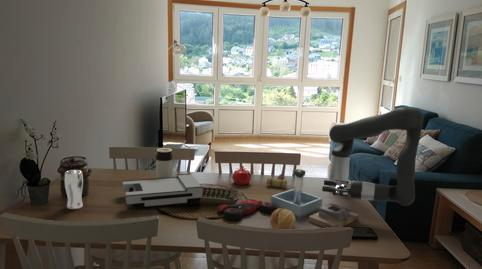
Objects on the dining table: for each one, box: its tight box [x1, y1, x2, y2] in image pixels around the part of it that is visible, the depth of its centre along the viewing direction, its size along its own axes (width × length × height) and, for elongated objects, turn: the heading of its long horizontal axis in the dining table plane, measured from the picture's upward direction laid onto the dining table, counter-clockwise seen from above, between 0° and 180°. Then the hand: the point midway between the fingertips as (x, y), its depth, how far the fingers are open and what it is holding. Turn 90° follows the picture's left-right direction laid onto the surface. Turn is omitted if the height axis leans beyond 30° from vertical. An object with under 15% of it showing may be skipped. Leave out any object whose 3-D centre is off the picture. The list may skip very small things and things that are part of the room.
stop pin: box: [293, 168, 306, 206], centre depth 171 cm, size 5×5×16 cm
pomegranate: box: [231, 165, 252, 186], centre depth 201 cm, size 10×10×9 cm
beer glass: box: [64, 169, 84, 210], centre depth 161 cm, size 7×7×15 cm
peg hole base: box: [308, 202, 359, 229], centre depth 161 cm, size 18×12×5 cm, turn 134°
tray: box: [270, 188, 323, 219], centre depth 172 cm, size 16×16×5 cm
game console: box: [122, 173, 204, 211], centre depth 174 cm, size 21×32×8 cm, turn 111°
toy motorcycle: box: [216, 198, 277, 221], centre depth 166 cm, size 25×5×16 cm
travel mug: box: [155, 147, 173, 178], centre depth 193 cm, size 8×8×18 cm
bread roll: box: [269, 208, 297, 230], centre depth 149 cm, size 10×15×8 cm, turn 167°
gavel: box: [266, 173, 288, 189], centre depth 207 cm, size 21×5×10 cm
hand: (323, 185), depth 167 cm, fingers open, 8 cm apart
